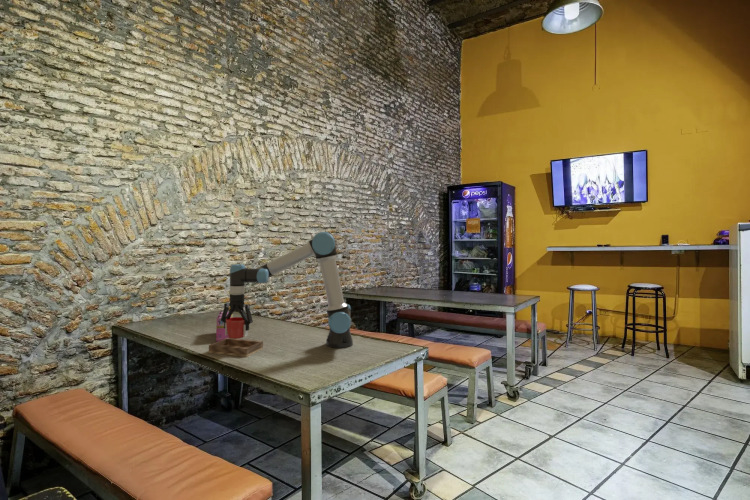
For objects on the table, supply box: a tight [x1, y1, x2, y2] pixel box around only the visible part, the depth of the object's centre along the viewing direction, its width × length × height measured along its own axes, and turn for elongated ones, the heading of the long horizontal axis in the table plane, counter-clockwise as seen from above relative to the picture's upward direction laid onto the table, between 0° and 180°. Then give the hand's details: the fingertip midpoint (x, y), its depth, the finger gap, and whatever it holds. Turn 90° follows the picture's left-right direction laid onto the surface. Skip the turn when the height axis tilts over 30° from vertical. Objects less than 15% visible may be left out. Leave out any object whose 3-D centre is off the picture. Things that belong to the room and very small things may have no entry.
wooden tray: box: [208, 338, 264, 358], centre depth 221 cm, size 22×16×4 cm
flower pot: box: [226, 316, 245, 339], centre depth 221 cm, size 11×11×10 cm
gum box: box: [215, 310, 234, 342], centre depth 251 cm, size 24×8×14 cm, turn 15°
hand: (236, 335), depth 221 cm, fingers closed on flower pot, 10 cm apart
